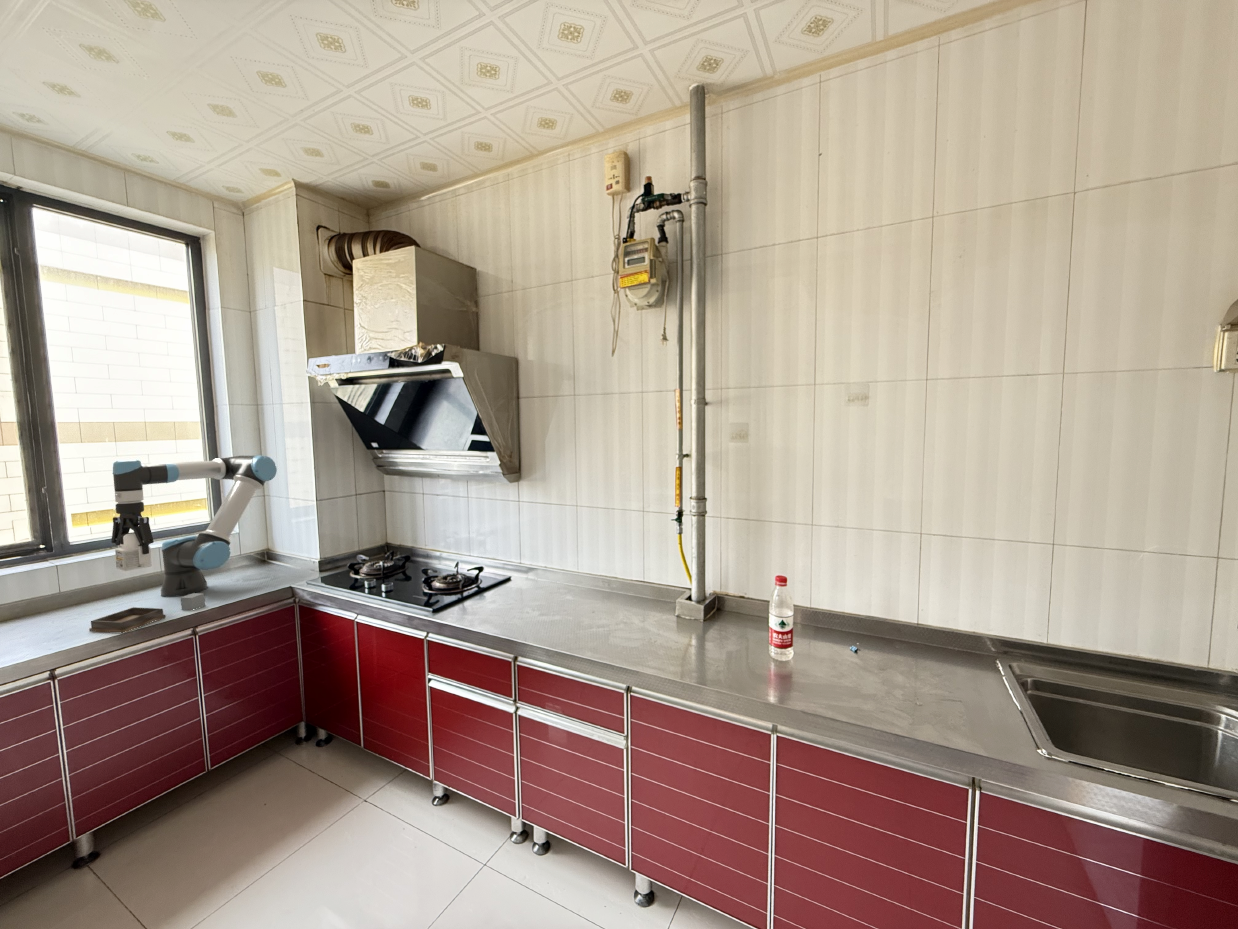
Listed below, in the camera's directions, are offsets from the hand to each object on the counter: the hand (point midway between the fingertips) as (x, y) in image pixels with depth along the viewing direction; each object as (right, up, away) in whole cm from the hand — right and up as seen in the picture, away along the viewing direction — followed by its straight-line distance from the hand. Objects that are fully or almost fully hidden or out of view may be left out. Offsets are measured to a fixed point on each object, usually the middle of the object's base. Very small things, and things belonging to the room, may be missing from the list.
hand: (133, 562), depth 189 cm
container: (0, -2, 0) cm, 2 cm away
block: (+16, -19, +8) cm, 26 cm away
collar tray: (+5, -21, -7) cm, 23 cm away
